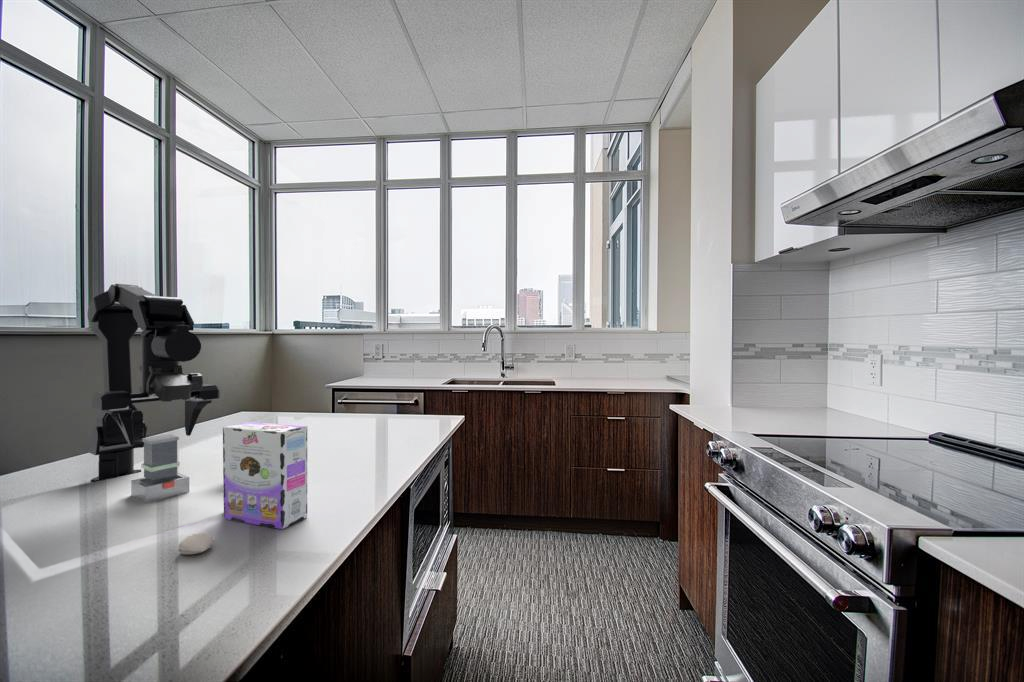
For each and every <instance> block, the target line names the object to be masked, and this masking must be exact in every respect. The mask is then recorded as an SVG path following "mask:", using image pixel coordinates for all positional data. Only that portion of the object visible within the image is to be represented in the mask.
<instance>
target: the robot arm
mask: <svg viewBox="0 0 1024 682" xmlns="http://www.w3.org/2000/svg"><path fill="white" fill-rule="evenodd" d="M87 320H88V322H90V325H91V331H92V332H93V333H94V334H95V335H96V337H98V339H99V340H100V341H101V344H102V347H101V348H102V365H103V366H102V367H103V389H104V391H101V392H99V391H98V392H96V393H95V394H94V395H93V396H92V398H91V399H92V400H91V402H92V403H91V404H92V408H93V409H96V410H100V413H99V414H97V415H98V416H97V417H96V418H95V426H94V427H93V428H92V430H91V431H92V432H91V433H90V437H89V440H88V442H87V449H88V453H89V454H91V455H94V456H98V466H97V467H98V468H97V469H98V476H96V477H94V478H91V479H90V483H94V482H99V481H106V480H110V479H116V478H120V477H125V476H129V475H134V474H139V472H140V473H142V469H135V468H134V466H135V460H134V459H135V458H134V457H135V456H134V455H135V454H134V453H135V452H134V450H135V449H139V448H144V442H143V441H142V438H147V431H148V426H147V425H146V423H145V421H144V413H143V412H142V410H140V409H138V408H137V407H136V406H135V405H134V404H138V403H148V402H159V401H161V402H165V403H167V402H172V401H175V400H176V401H177V400H178V401H179V400H183V401H184V431H185V435H186V436H187V437H190V436H191V435H192V433H193V430H194V428H195V425H196V423H197V421H198V418H199V416H200V415H201V412H202V411H203V409H204V408H205V407H206V406H207V405H209V404H212V403H213V400H215V399H220V392H221V391H220V388H219V386H217V385H216V384H211V383H210V384H209V383H208V384H207V383H204V381H203V380H204V379H203V374H202V373H200V372H194V373H193V372H191V373H188V374H187V375H184V373H183V366H182V364H181V365H180V363H181V362H182V363H183V362H184V363H185V362H190V361H192V360H194V359H195V358H197V356H198V355H199V354H200V352H201V350H202V343H201V341H200V339H199V338H198V336H197V335H196V334H194V333H193V332H191V331H194V324H195V322H194V320H193V318H192V316H191V314H190V312H189V310H188V308H187V306H186V303H184V301H183V299H181V298H180V297H174V296H172V297H171V296H161V295H160V296H158V295H156V294H154V293H152V292H150V291H148V290H145V289H143V287H142V286H139V285H136V284H127V283H126V284H125V283H123V284H122V283H114V284H111V285H109V288H108V290H106V291H104V292H102V293H100V294H97V295H96V296H94V297H92V300H91V302H90V304H89V306H88V308H87ZM139 328H140V330H141V332H140V337H141V365H139V371H140V372H141V386H139V392H134V393H133V391H132V390H133V388H132V369H131V368H132V367H131V366H132V365H131V364H132V363H131V346H130V343H131V341H130V340H131V339H132V337H133V336H134V334H135V333H136V332H137V331H138V329H139ZM149 395H150V396H149Z"/></svg>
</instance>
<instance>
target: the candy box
mask: <svg viewBox="0 0 1024 682" xmlns="http://www.w3.org/2000/svg"><path fill="white" fill-rule="evenodd" d="M222 452H223V453H222V460H223V461H222V468H223V469H222V470H223V471H222V473H223V480H222V481H223V520H226V521H227V520H228V521H235V522H239V523H245V524H250V525H256V526H257V525H258V526H261V527H268V528H273V529H280V530H284V529H285V528H288V527H289V526H292V525H294V524H296V523H298V522H300V521H302V520H304V519H307V518H308V426H306V425H293V424H292V425H291V424H282V423H280V424H279V423H272V422H271V423H270V422H257V421H246V422H242V423H237V424H232V425H228V426H224V427H222Z"/></svg>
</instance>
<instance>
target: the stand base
mask: <svg viewBox="0 0 1024 682" xmlns="http://www.w3.org/2000/svg"><path fill="white" fill-rule="evenodd" d="M130 481H131V485H130V487H131V488H130V489H131V490H130V493H131V494H130V495H131V497H133V498H135V499H137V500H139V501H140V502H143V503H144V504H148V503H152V502H155V501H160V500H163V499H167V498H171V497H175V496H178V495H182V494H187V493H190V477H189V476H188V475H185V474H183V473H180V472H178V471H177V475H176V476H171V477H167V478H162V479H158V480H153V481H152V480H149V479H147V478H145V477H142V478H141V477H140V478H136V479H132V480H130Z"/></svg>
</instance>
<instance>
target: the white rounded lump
mask: <svg viewBox="0 0 1024 682" xmlns="http://www.w3.org/2000/svg"><path fill="white" fill-rule="evenodd" d="M214 542H215V539H214V537H213V535H212V534H210V533H205V532H200V533H195V534H191V535H189V536H187V537H186V538H184V539H183V540H182V541H180V543H179V544H178V545H177V546H178V552H179V553H180V554H181V555H188V556H192V555H196V554H200V553H203V552H205V551H207V550H208V549H209V548H211V547H212V546H213V544H214Z"/></svg>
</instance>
